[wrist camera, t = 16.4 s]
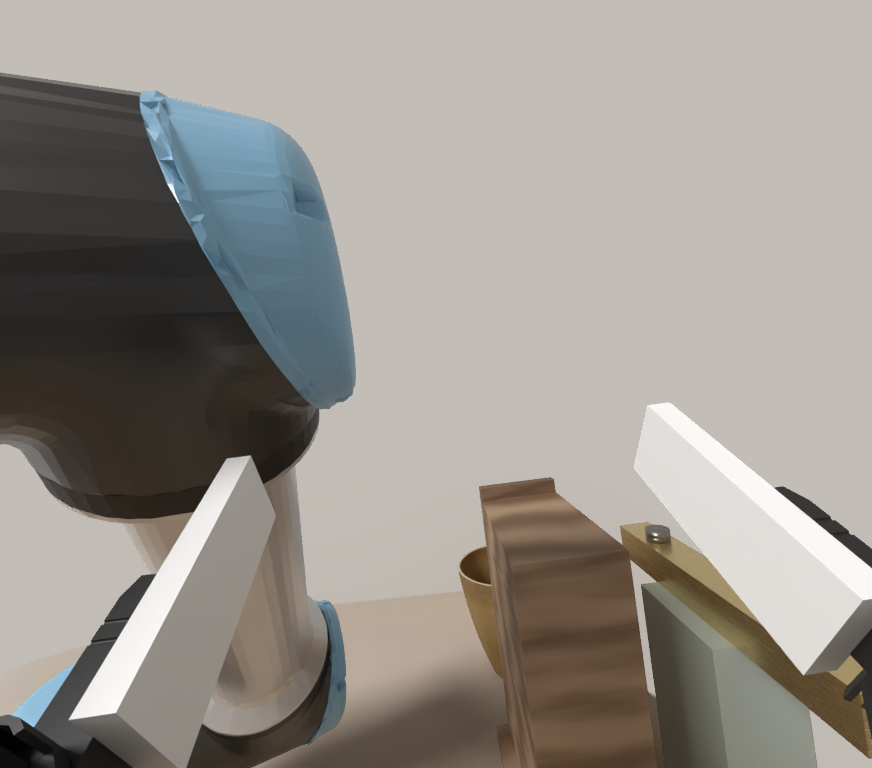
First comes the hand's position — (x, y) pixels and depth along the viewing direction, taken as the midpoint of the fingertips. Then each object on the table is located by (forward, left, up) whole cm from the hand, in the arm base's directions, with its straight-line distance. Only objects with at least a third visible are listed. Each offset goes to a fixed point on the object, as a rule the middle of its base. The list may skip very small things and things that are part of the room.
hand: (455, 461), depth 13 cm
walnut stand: (-12, +24, -41) cm, 49 cm away
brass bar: (+1, +31, -20) cm, 37 cm away
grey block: (0, +31, -41) cm, 52 cm away
